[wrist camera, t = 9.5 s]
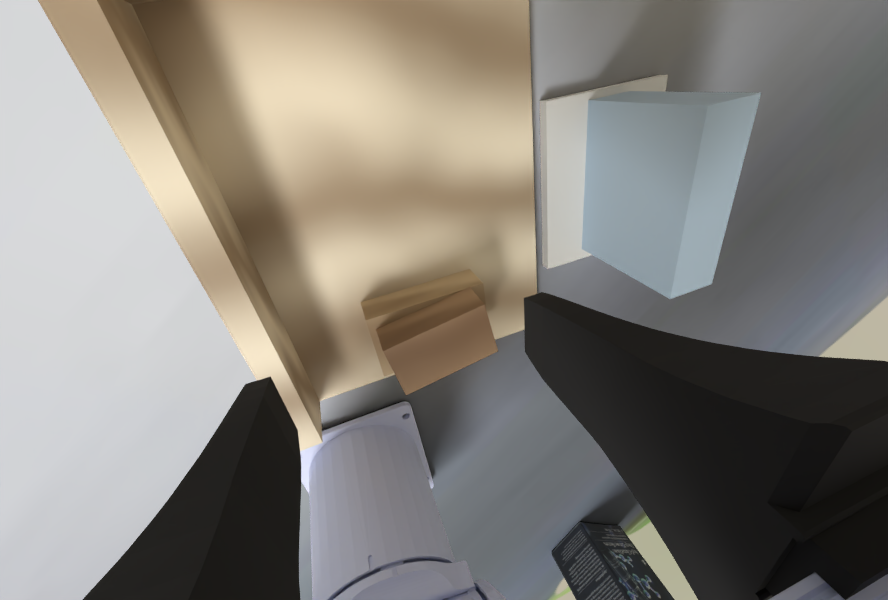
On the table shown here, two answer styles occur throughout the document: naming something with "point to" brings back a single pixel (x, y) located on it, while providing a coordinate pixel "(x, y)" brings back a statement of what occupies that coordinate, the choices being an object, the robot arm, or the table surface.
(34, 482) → the table surface
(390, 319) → the oak offcut
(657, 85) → the felt pad
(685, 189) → the pale blue block
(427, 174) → the pale wood shallow tray
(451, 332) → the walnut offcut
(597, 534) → the box
